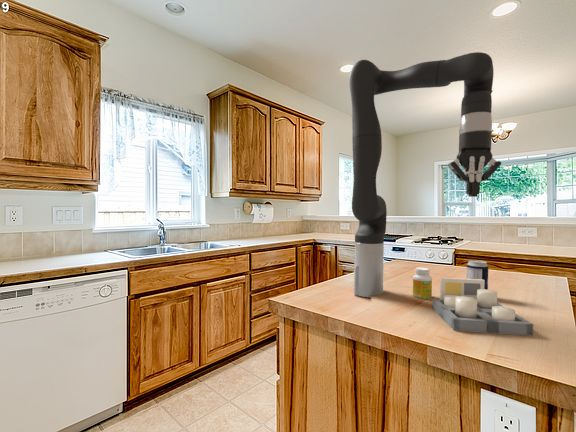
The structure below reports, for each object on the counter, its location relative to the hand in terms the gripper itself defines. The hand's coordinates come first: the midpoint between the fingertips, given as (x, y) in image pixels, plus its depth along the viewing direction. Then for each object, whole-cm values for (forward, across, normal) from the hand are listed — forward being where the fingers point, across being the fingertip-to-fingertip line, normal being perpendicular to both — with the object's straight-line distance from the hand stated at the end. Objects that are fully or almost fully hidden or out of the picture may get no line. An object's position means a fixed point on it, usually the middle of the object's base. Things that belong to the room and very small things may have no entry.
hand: (472, 196), depth 83 cm
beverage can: (+32, +7, +13) cm, 35 cm away
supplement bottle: (+32, -10, +10) cm, 35 cm away
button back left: (+31, -6, -5) cm, 32 cm away
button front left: (+29, -6, -13) cm, 32 cm away
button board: (+32, -2, -9) cm, 33 cm away
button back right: (+29, +2, -5) cm, 29 cm away
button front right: (+31, +2, -13) cm, 33 cm away
